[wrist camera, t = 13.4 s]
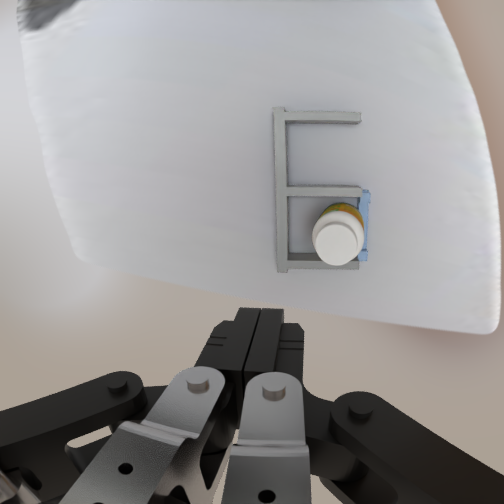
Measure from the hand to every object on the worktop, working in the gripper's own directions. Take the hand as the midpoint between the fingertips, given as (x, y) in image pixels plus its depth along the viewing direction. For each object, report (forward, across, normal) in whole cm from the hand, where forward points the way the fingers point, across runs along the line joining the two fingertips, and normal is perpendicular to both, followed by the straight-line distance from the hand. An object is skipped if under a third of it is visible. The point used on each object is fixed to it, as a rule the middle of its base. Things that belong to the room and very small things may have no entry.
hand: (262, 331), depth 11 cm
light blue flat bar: (+29, -9, +2) cm, 30 cm away
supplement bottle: (+29, -6, +2) cm, 29 cm away
